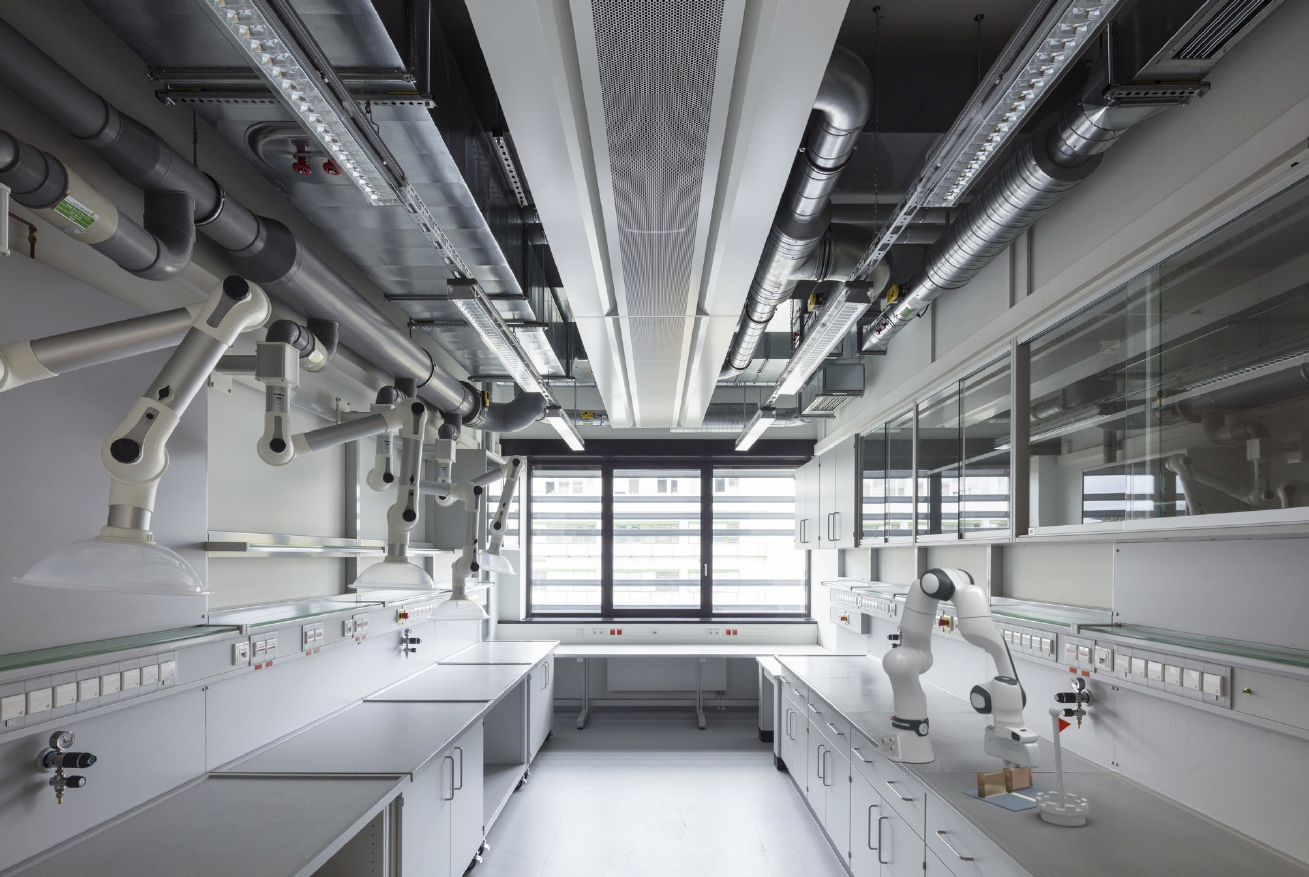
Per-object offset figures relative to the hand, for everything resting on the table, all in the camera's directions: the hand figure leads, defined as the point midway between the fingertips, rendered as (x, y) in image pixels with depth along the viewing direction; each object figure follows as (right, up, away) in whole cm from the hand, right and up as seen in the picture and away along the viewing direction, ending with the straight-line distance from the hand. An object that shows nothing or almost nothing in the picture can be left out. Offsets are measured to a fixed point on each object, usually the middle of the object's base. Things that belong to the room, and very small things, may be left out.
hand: (1012, 775), depth 246 cm
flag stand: (0, +1, -30) cm, 30 cm away
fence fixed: (-9, -1, -9) cm, 13 cm away
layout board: (-4, -2, -10) cm, 11 cm away
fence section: (+1, -2, -4) cm, 5 cm away
